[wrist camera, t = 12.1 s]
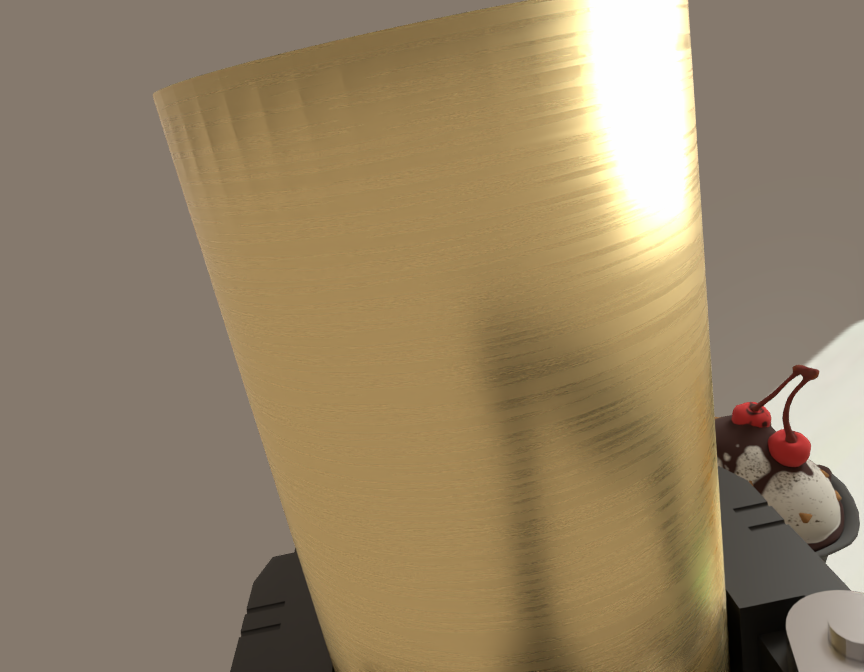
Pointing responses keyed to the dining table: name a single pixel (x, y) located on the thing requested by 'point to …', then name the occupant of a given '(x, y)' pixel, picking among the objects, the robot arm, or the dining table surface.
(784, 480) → the sundae
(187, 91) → the brass peg
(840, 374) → the dining table surface
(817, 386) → the dining table surface
